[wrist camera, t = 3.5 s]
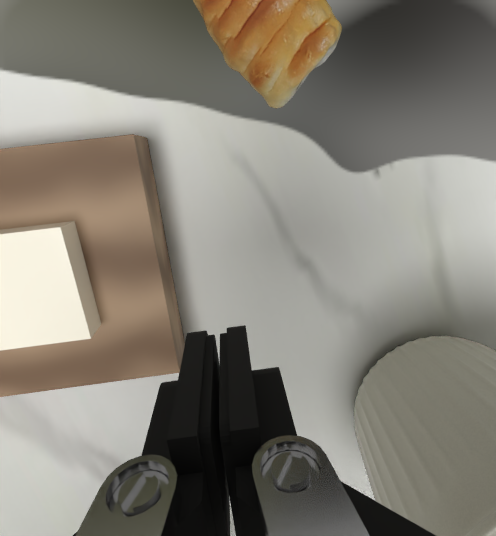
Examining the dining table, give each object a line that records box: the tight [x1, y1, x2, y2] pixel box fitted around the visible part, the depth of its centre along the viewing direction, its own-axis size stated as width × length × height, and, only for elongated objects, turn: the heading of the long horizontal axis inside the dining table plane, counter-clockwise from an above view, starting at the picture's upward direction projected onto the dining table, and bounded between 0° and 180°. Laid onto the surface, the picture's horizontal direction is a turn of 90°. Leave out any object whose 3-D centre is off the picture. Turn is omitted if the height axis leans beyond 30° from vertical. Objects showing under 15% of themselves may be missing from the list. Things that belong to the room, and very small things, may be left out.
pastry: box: [193, 0, 342, 108], centre depth 21 cm, size 9×7×4 cm
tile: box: [0, 221, 101, 351], centre depth 22 cm, size 7×7×2 cm
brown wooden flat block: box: [0, 134, 185, 397], centre depth 24 cm, size 16×18×4 cm
